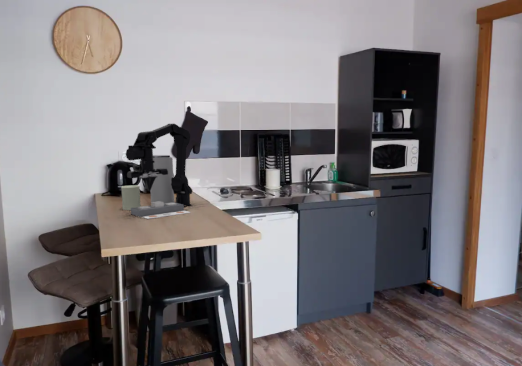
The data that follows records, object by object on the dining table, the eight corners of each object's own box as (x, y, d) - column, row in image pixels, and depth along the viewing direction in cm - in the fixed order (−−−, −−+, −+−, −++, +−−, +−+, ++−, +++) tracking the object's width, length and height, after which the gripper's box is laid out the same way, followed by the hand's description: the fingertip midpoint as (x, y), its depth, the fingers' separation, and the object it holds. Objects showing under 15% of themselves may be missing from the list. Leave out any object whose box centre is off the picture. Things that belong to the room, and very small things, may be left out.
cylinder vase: (171, 205, 235) (169, 158, 232) (148, 205, 235) (145, 158, 232) (176, 201, 247) (174, 156, 244) (154, 201, 248) (152, 157, 245)
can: (133, 210, 221) (132, 186, 220) (118, 209, 224) (117, 186, 223) (144, 207, 230) (143, 184, 229) (129, 206, 233) (128, 184, 232)
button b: (172, 207, 222) (172, 202, 222) (176, 208, 219) (176, 203, 218) (164, 208, 219) (164, 203, 219) (168, 209, 216) (168, 204, 216)
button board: (174, 208, 226) (174, 202, 226) (183, 210, 218) (183, 204, 218) (131, 214, 212) (130, 207, 211) (139, 217, 204) (139, 210, 203)
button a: (146, 210, 213) (146, 206, 213) (150, 212, 210) (150, 207, 210) (137, 212, 211) (137, 207, 210) (141, 213, 207) (141, 208, 207)
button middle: (159, 206, 218) (159, 201, 217) (163, 207, 214) (163, 202, 214) (151, 207, 215) (151, 202, 215) (155, 208, 211) (155, 203, 211)
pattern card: (184, 211, 217) (184, 210, 217) (190, 212, 212) (190, 211, 212) (142, 217, 203) (142, 216, 203) (147, 219, 198) (147, 218, 198)
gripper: (157, 156, 222) (159, 187, 224) (121, 159, 211) (123, 191, 213) (167, 157, 214) (169, 189, 216) (130, 160, 202) (133, 194, 204)
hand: (149, 190), depth 212 cm, fingers closed
